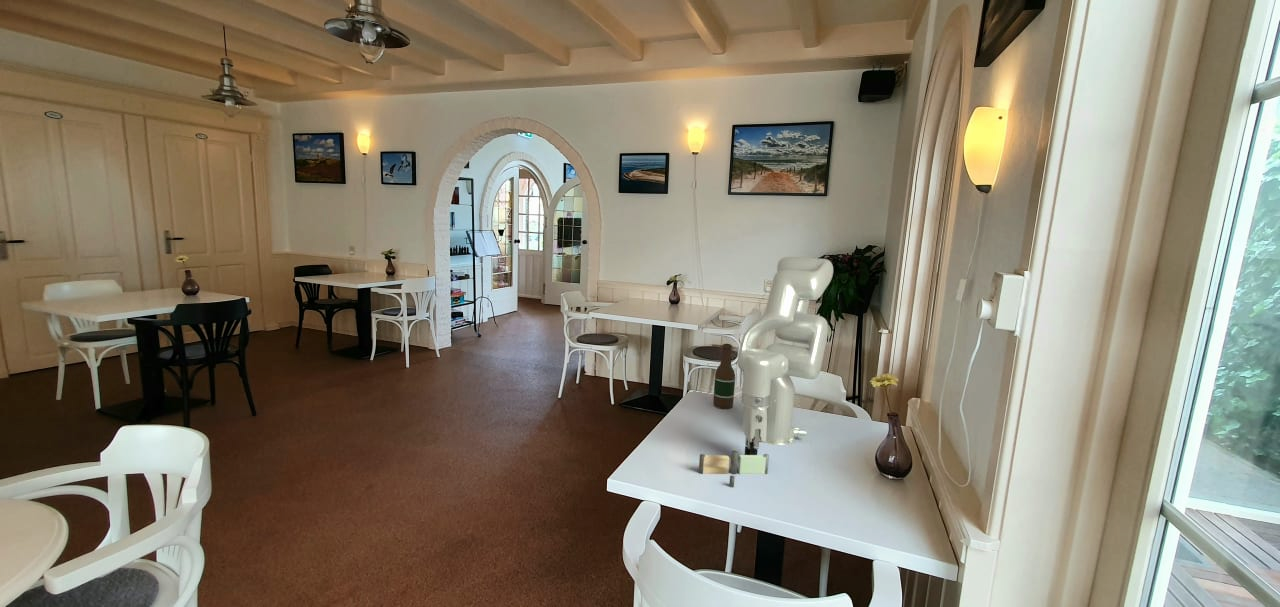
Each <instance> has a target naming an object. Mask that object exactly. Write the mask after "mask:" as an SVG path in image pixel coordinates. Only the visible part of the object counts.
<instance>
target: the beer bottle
mask: <svg viewBox="0 0 1280 607" xmlns="http://www.w3.org/2000/svg"><path fill="white" fill-rule="evenodd" d="M721 347H722V351H721V360H720V364H719V365H718V367H717V368H716V370H715V373H714V387H713V400H712V401H713V406H715V407H714V408H718V409H721V410H728V409H733V406H734V398H735V386H736V385H735V384H736V374H735V370H734V368H733V367H732V349H733V346H732V344H730V343H724V344H722V346H721Z"/></svg>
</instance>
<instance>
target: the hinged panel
mask: <svg viewBox="0 0 1280 607" xmlns="http://www.w3.org/2000/svg"><path fill="white" fill-rule="evenodd" d="M738 458H739V459H738V467H737V472H738V473H739V474H740V475H767V474H768V472H769V462H770V461H769V459H770V454H768V453H764V454H757V455H745V454H739V455H738Z"/></svg>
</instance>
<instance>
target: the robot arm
mask: <svg viewBox="0 0 1280 607" xmlns="http://www.w3.org/2000/svg"><path fill="white" fill-rule="evenodd" d="M833 274H834V266H833V263H832V262H831V260H829V259H826V258H817V257H805V256H785V257H782V258H781V259H779V260H778V262H777V266H776V273H775V274H774V276H773V279H772V282H771V287H770V289H769V294H768V297H767V298H768V299H767V302H766V307H765V310H764V312H763V315H762V316H761V317H759V318H758V319H757V320H755V321H754V322H753V323H752V324H751V325H750V326H749V327H748V329H747V330H746V331H745V333H744V334H743V336H742V339H741V343H740V346H739V347H740V348H739V351H738V354H737V366H738V369H739V370H740V371H742V372H743V380H742V391H741V392H742V393H741V404H742V406H743V411H742V421H741V423H742V424H741V429H742V432H743V435H745V445H744V455H758V449H760V443H763V444H768V445H769V444H770V445H774V446H790V445H793V444H795V443H796V437H797V436H800V437H801V436H802V437H805V436H806V435H807V430H806V429H800V427H797V426H796V427H793V426H792V425H793V416H794V415H793V413H794V404H795V395H796V394H795V393H796V390H795V388H796V387H795V384H794V382H793V380H792V378H791V377H795V378H800V379H805V380H815V379H817V378H818V377H819V376H820V373H821V370H822V365H823V360H824V356H825V350H826V346H827V340H828V335H829V334H828V333H829V324H828V321H827V319H826V318H825V317H823V316H822V315H817V314H809V313H808V308H809V305H810V301H811V300H812V301H816V300H818V299H819V298H820V297H821V296H822V295H823V294H824V292H825V290H826V289H827V287H828V286H829V284H830V283H831V281H832V279H833ZM773 330H775V332H774V333H775V336H776V337H777V338H778V339H779V340H782V341H784V342H785V341H786V342H789V343H790V342H791V343H796V344H804V345H807V346H808V347H805V346H798V345H795V344H788V343H782V342H781V343H780V342H779V343H778V342H774V343H770V344H769V345H767V346H766V347H765V349H761V348H756V347H755V348H754V345H755V342H756V341H757V340H758V338H759V337H761V335H763V334H765V333H767V332H770V331H773Z"/></svg>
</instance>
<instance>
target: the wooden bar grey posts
mask: <svg viewBox="0 0 1280 607" xmlns="http://www.w3.org/2000/svg"><path fill="white" fill-rule="evenodd" d="M738 458H739V451H738V450H732V451H731V454H730V457H729V455H713V454H712V455H709V454H708V455H705V454H704V453H701V454H699V459H698V460H699V462H698V474H699V475H700V474H701V475H728V474H731V475H730V476H729V487H730V488H734V487H735V480H736V479H735V478H736V477H735V476H734V475H737V472H738V462H739V459H738Z"/></svg>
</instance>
